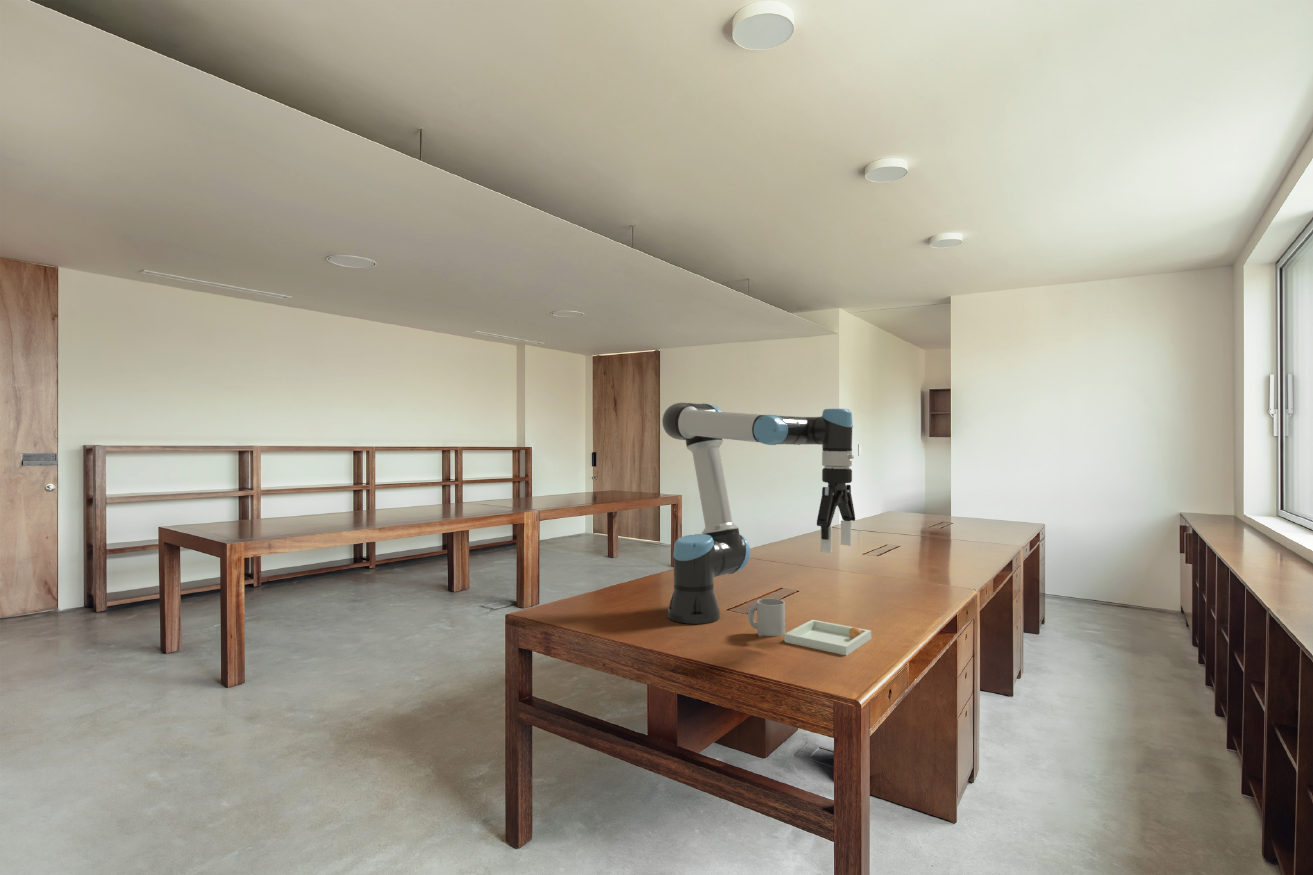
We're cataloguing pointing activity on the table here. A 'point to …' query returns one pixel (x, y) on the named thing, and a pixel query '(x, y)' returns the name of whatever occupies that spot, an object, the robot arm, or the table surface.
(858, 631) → the ball
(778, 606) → the cup
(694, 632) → the table surface
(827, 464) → the robot arm
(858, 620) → the table surface
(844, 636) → the tray
